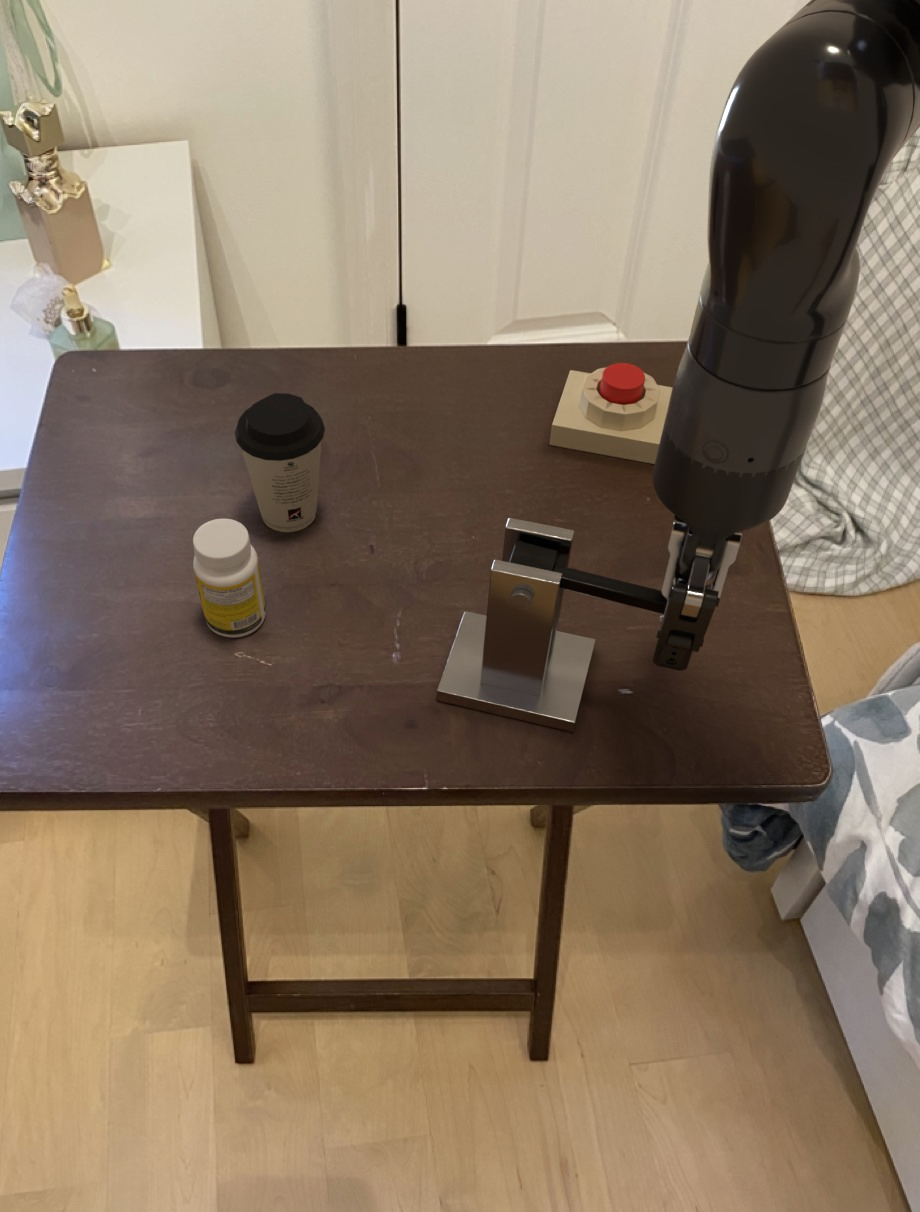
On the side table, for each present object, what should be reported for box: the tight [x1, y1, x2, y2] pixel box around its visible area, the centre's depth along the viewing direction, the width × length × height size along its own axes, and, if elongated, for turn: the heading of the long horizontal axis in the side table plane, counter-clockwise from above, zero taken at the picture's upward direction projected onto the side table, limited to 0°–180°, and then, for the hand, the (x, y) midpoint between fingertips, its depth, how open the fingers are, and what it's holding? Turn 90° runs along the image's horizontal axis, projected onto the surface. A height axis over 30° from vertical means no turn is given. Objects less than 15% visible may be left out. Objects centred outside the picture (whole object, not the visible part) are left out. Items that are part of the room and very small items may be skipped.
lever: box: [509, 541, 689, 615], centre depth 70 cm, size 12×5×2 cm, turn 73°
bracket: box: [436, 517, 596, 733], centre depth 75 cm, size 10×8×13 cm
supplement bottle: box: [192, 518, 267, 638], centre depth 80 cm, size 5×5×8 cm
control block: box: [549, 366, 673, 465], centre depth 95 cm, size 10×8×4 cm
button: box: [600, 362, 645, 405], centre depth 93 cm, size 4×4×2 cm
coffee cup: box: [234, 392, 326, 533], centre depth 86 cm, size 7×7×10 cm
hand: (675, 631), depth 71 cm, fingers closed on lever, 5 cm apart
